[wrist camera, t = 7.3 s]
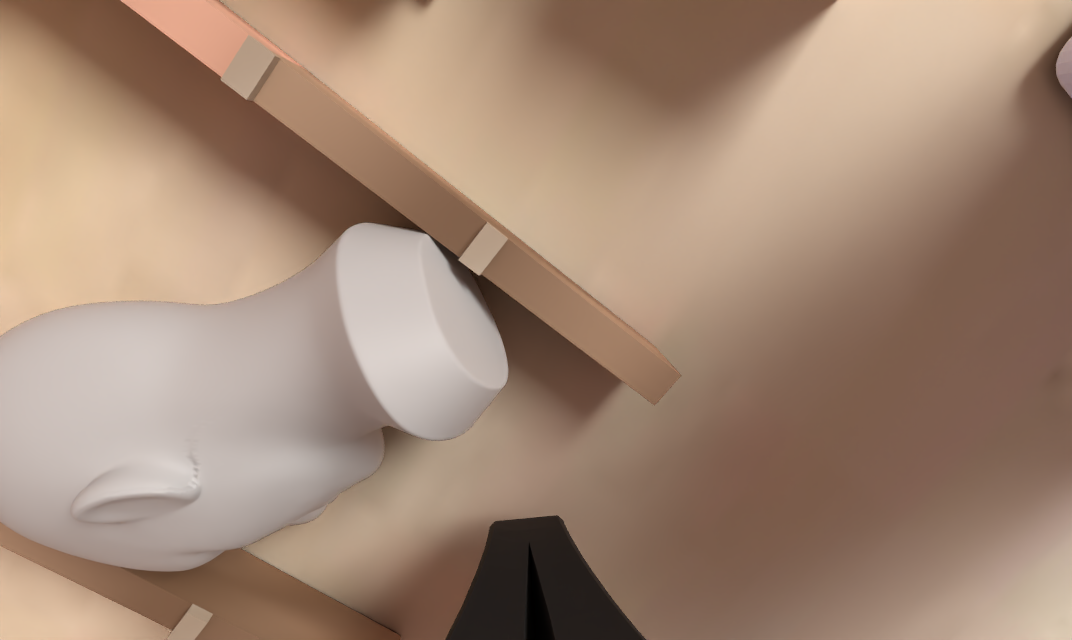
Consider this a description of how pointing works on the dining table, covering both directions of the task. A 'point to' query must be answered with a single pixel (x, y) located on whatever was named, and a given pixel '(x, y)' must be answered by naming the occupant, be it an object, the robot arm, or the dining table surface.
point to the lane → (432, 204)
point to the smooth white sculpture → (237, 401)
